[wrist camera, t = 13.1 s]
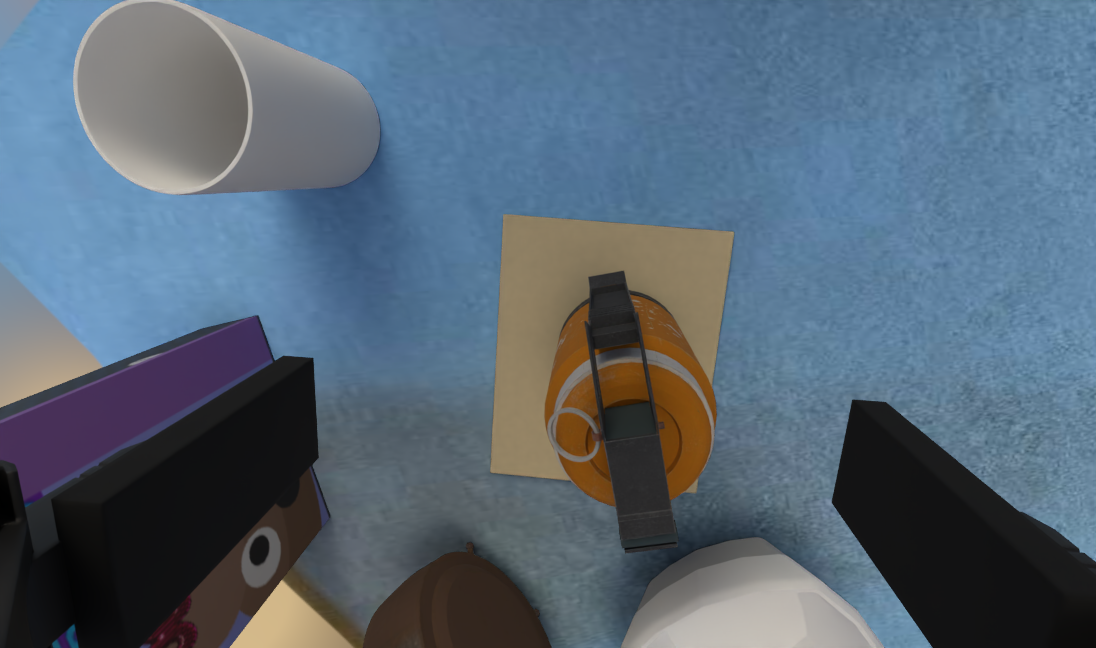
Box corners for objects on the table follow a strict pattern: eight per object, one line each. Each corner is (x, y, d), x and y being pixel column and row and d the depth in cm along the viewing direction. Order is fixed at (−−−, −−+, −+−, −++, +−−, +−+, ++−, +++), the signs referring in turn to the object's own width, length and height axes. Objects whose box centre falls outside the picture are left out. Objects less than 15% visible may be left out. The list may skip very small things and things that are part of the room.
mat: (504, 214, 42) (503, 214, 42) (733, 231, 41) (734, 232, 41) (490, 470, 47) (490, 472, 47) (695, 491, 46) (696, 493, 46)
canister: (570, 414, 45) (552, 594, 26) (541, 271, 43) (498, 351, 23) (689, 395, 44) (765, 569, 25) (668, 248, 42) (732, 311, 22)
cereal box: (330, 516, 49) (93, 823, 26) (277, 526, 50) (0, 834, 27) (257, 315, 45) (-96, 463, 22) (201, 328, 46) (-201, 486, 23)
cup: (388, 78, 40) (261, 19, 25) (371, 199, 43) (244, 213, 27) (271, 51, 41) (73, -24, 25) (259, 173, 43) (70, 172, 27)
